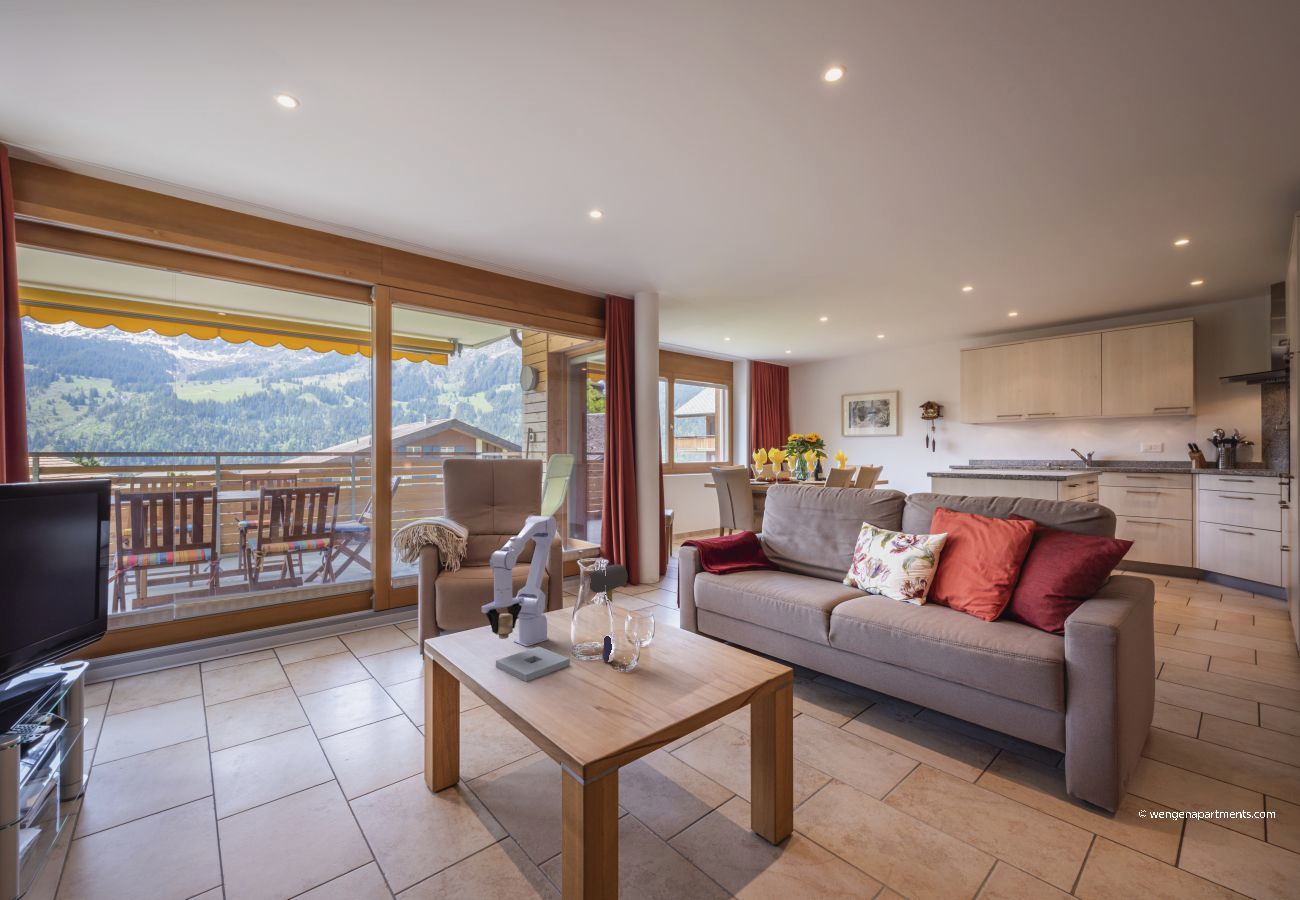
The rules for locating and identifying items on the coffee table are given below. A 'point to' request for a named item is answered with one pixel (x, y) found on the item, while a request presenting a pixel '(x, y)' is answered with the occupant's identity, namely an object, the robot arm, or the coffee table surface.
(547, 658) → the mortise board
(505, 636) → the oak peg
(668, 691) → the coffee table surface
